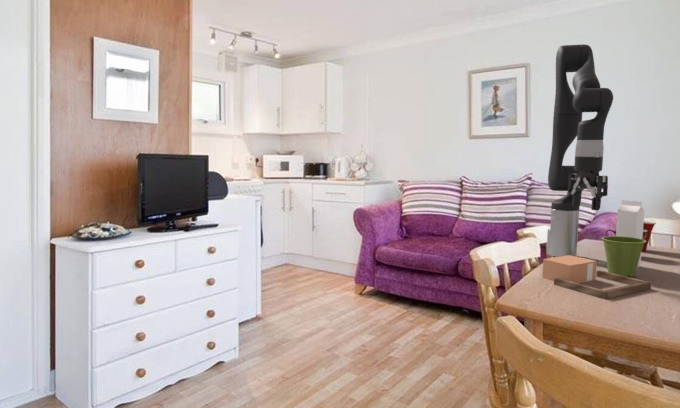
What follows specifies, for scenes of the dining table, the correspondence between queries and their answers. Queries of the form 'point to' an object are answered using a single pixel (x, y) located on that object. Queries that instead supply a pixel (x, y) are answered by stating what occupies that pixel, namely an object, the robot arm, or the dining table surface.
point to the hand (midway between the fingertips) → (585, 208)
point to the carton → (570, 269)
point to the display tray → (633, 286)
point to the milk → (630, 220)
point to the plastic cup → (649, 228)
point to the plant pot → (623, 254)
